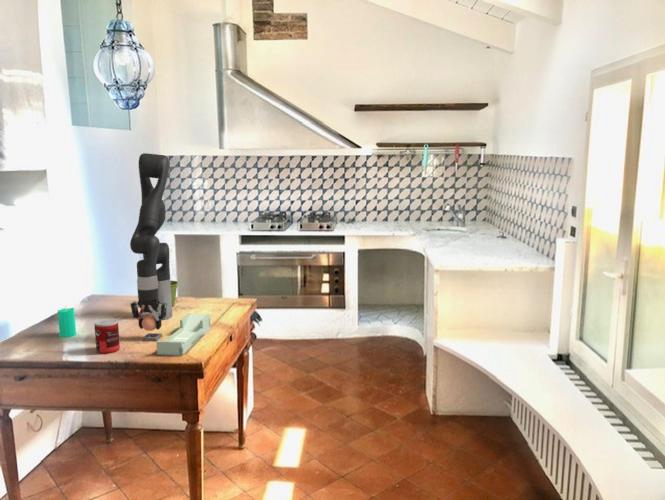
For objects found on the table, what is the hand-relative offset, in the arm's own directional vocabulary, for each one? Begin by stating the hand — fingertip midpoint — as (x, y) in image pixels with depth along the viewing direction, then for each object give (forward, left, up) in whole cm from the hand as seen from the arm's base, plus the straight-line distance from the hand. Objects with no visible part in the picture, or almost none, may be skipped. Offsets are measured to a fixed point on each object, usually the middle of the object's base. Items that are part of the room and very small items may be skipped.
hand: (150, 328), depth 205 cm
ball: (0, 0, +2) cm, 2 cm away
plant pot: (-13, +46, -4) cm, 48 cm away
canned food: (-10, -14, -4) cm, 18 cm away
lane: (+15, -2, -4) cm, 15 cm away
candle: (-35, +1, -4) cm, 35 cm away
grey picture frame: (+1, 0, -4) cm, 4 cm away
